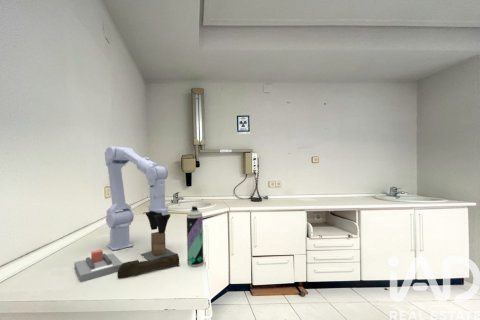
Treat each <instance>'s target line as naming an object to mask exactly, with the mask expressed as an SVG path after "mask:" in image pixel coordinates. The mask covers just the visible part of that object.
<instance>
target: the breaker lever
mask: <svg viewBox="0 0 480 320" xmlns="http://www.w3.org/2000/svg"><path fill="white" fill-rule="evenodd" d="M90 253H91V257H90V259H91V260H92V262H93V263H95V262H99V261H103V254H104V253H103V250H102V249H98V250H93V251H91V252H90Z"/></svg>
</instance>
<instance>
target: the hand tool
mask: <svg viewBox="0 0 480 320" xmlns="http://www.w3.org/2000/svg"><path fill="white" fill-rule="evenodd" d="M175 253H176V252H175ZM122 263H123V264H122V265H121V266H120V268H119V270H118V272H116V273H117V278H119V279H124V278H132V277H137V276H138V275H140V274H143V273H147V272H150V271H154V270H159V269H164V268H169V267H173V266H177V267H179V266H180V256H179V254H178V253H176V254H174V255H171V256H165V257H160V258H157V259H152V260H147V259H146V260H143V261H139V259H136V260H129V261H125V262H122Z"/></svg>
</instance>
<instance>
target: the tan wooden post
mask: <svg viewBox="0 0 480 320" xmlns="http://www.w3.org/2000/svg"><path fill="white" fill-rule="evenodd" d="M150 239H151V240H150V242H151V245H150V247H151V249H150V250H151V254H152V255H154V256H159V255H163V254H166V248H167V247H166V232H165V233H161V234H159V232H158V231H156V232H151V233H150Z"/></svg>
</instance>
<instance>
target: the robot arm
mask: <svg viewBox="0 0 480 320" xmlns="http://www.w3.org/2000/svg"><path fill="white" fill-rule="evenodd" d="M104 160H105V166H107V171H108V173H107V174H108V180H109V188H110V197H111V204H112V205H111V206H110V207H109V208H108V209H107V210H106V218H105V222H106V225H107V226H108V227H109V228H110V230H109V244H107V246H108V248H109V249H111V251H119V250H121V249H126V248H131V247H133V246H134V245H133V244H132V243H131V242H130V226H131V224H132V222H133V221H134V218H135V217H134V216H135V215H134V212H133V210H132V207H131V205H129V204H128V203H126V196H125V188H124V181H123V174H122V169H123V167H126V165H127V164H128V163H130V162H131V163H133V164H135V166H136V168H137V170H138V171H140V172H141V173H143V174H144V175H145V177H146V179H147V183H148V186H149V205H148V207H147V208H148V212H145V215H146V217H147V219H148V221H149V226H150V229H151V231H153V230H154V231H155V230H157V232H159V234H161V233H165V234H166V230H167V229H166V228H167V224H168V222H169V219H170V218H171V214H170V213H169V210H168V209H169V206H167V205H166V184H165V183H166V180H167V178H168V175H169V172H168V168H167V167H166V166H165V165H158V163H157V162H154V161H152V160H151V158H150V157H141V156H140V155H139V154H137V153H136V152H135V151H134V149H133V148H132V147H129V146H127V147H125V146H114V145H109V146H108V147H107V148H106V150H105V151H104Z"/></svg>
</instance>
